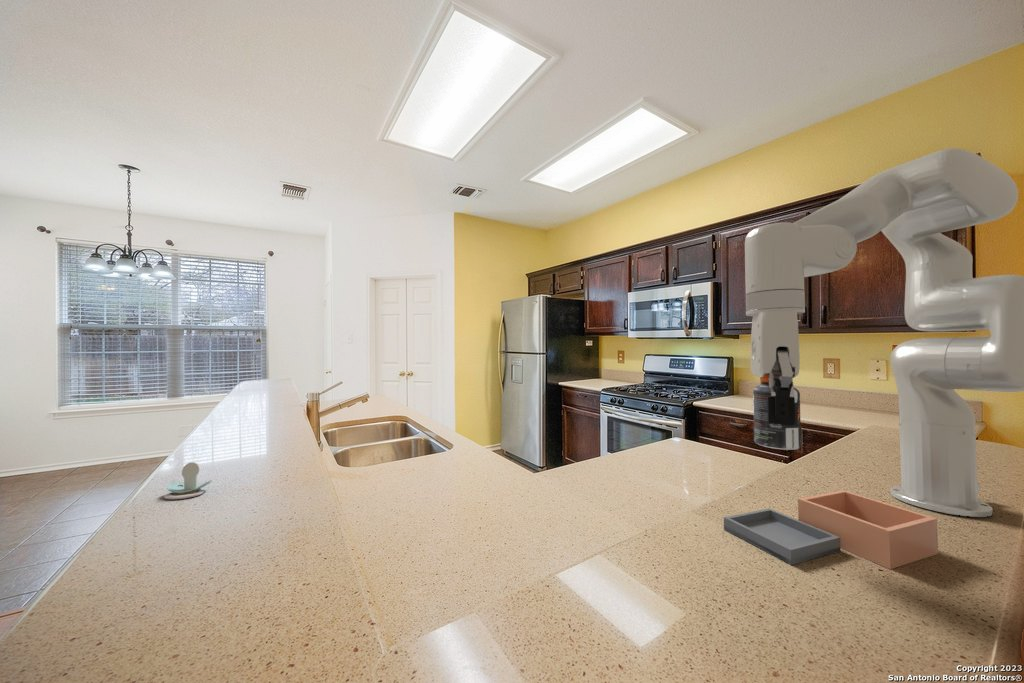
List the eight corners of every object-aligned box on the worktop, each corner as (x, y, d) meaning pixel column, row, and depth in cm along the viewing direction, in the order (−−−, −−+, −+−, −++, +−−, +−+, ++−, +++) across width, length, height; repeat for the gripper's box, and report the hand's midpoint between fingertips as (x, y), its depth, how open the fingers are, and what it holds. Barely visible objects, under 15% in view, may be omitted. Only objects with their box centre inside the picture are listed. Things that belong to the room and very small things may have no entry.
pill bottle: (810, 451, 53) (808, 374, 53) (764, 449, 54) (763, 373, 54) (787, 441, 59) (786, 371, 59) (747, 439, 60) (746, 371, 60)
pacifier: (197, 500, 72) (216, 488, 78) (197, 468, 72) (216, 458, 78) (154, 503, 70) (176, 490, 76) (154, 471, 70) (176, 460, 76)
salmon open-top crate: (843, 519, 63) (843, 490, 63) (938, 553, 52) (937, 518, 52) (798, 529, 59) (797, 498, 59) (890, 569, 48) (889, 531, 49)
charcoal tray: (769, 519, 63) (769, 508, 63) (840, 551, 53) (840, 537, 53) (723, 529, 59) (723, 517, 59) (791, 565, 49) (790, 550, 49)
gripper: (739, 311, 66) (740, 410, 66) (754, 299, 51) (757, 428, 50) (789, 309, 63) (791, 413, 63) (822, 295, 48) (825, 434, 47)
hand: (776, 419), depth 56 cm, fingers closed on pill bottle, 6 cm apart
